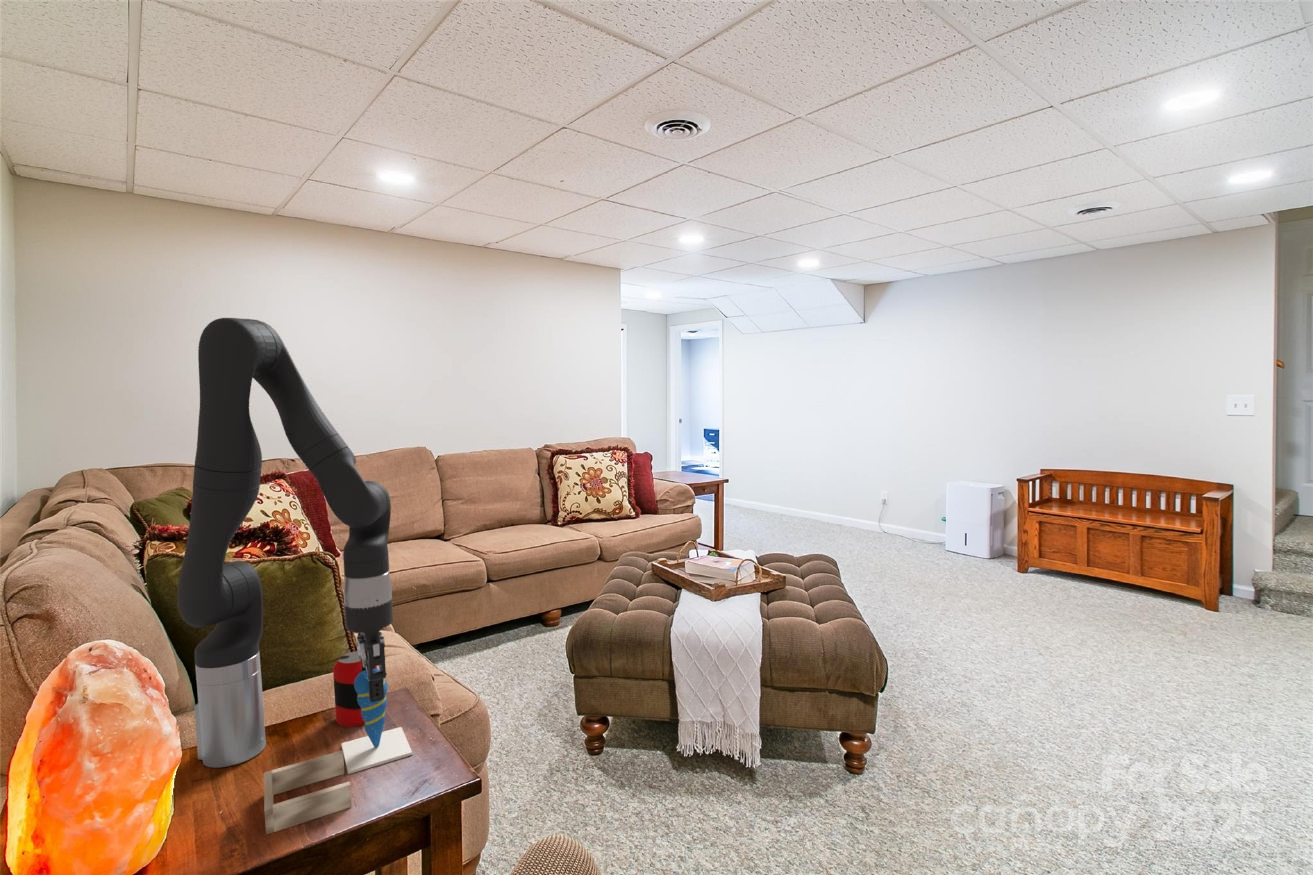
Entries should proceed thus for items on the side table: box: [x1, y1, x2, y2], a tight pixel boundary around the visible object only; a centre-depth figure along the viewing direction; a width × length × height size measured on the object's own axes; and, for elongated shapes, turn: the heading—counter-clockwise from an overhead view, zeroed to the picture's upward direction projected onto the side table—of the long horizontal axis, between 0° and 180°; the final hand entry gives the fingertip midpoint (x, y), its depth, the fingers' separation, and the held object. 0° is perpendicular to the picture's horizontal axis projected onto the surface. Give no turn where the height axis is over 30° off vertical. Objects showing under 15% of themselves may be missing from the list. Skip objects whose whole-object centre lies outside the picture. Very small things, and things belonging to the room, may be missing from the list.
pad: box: [341, 726, 413, 775], centre depth 111 cm, size 10×10×1 cm
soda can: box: [332, 650, 378, 728], centre depth 123 cm, size 8×8×12 cm
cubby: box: [263, 750, 352, 835], centre depth 98 cm, size 11×11×4 cm
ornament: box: [354, 668, 389, 747], centre depth 111 cm, size 5×5×15 cm
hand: (372, 690), depth 111 cm, fingers open, 8 cm apart
